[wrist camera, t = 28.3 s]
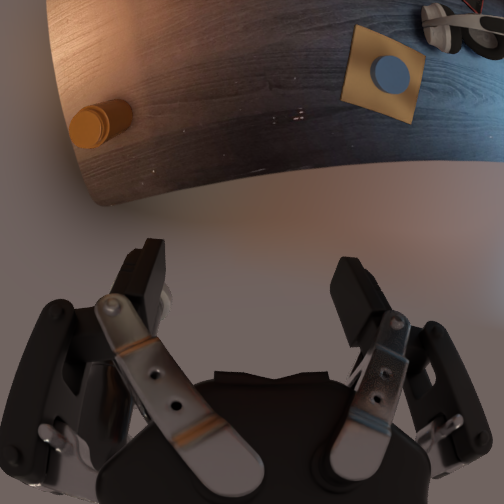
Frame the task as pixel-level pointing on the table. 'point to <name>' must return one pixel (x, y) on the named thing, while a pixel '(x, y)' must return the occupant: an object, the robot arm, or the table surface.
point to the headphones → (463, 31)
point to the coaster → (361, 85)
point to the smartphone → (475, 5)
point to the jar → (100, 123)
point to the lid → (390, 74)
